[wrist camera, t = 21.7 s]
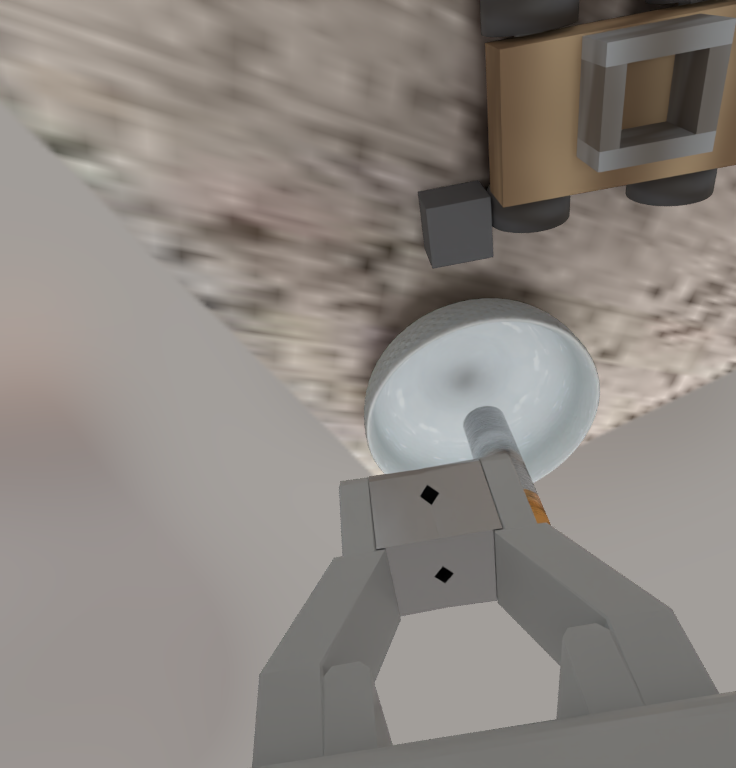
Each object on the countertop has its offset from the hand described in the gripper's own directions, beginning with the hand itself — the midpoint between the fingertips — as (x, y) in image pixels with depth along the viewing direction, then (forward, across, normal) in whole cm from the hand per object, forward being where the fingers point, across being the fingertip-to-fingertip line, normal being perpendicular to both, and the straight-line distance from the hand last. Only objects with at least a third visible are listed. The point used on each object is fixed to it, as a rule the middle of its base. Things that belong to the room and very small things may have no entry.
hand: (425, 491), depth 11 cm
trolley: (+31, -15, +1) cm, 35 cm away
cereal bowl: (+31, -6, +20) cm, 38 cm away
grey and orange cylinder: (+24, -6, +20) cm, 32 cm away
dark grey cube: (+31, -6, +7) cm, 33 cm away
